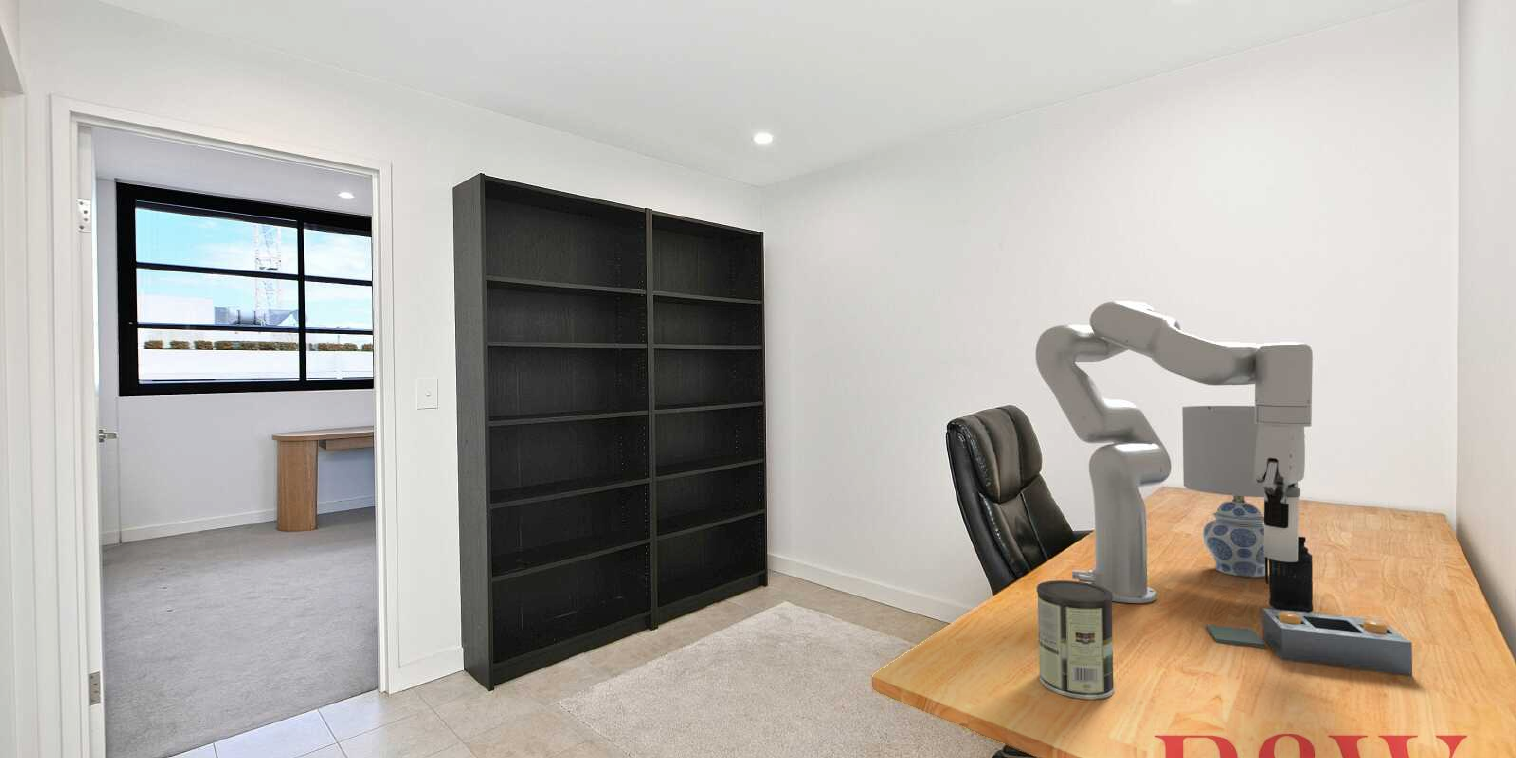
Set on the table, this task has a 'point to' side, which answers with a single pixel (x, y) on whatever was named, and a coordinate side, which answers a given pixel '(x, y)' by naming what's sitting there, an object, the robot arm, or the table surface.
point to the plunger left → (1289, 617)
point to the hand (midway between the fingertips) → (1280, 522)
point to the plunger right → (1374, 626)
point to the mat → (1235, 636)
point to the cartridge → (1284, 532)
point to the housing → (1337, 642)
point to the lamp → (1226, 483)
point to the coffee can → (1075, 639)
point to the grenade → (1291, 582)
